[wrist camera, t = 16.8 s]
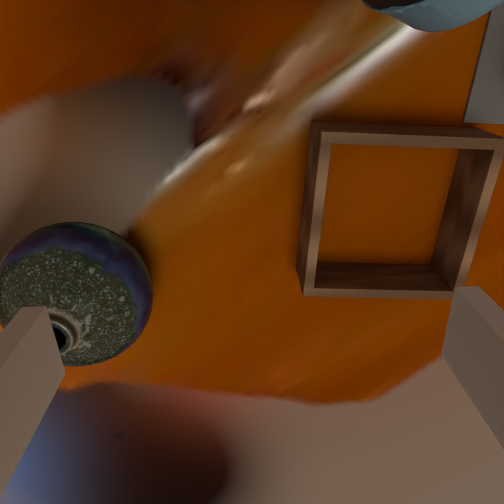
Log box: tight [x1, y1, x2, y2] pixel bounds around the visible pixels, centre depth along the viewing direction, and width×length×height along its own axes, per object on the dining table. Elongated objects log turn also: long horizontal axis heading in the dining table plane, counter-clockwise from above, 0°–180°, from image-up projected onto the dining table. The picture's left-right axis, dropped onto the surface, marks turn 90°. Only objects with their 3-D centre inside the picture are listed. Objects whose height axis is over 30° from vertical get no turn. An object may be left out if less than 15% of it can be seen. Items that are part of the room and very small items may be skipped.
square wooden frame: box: [296, 121, 504, 299], centre depth 44 cm, size 17×17×6 cm
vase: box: [0, 222, 153, 366], centre depth 43 cm, size 15×15×13 cm
